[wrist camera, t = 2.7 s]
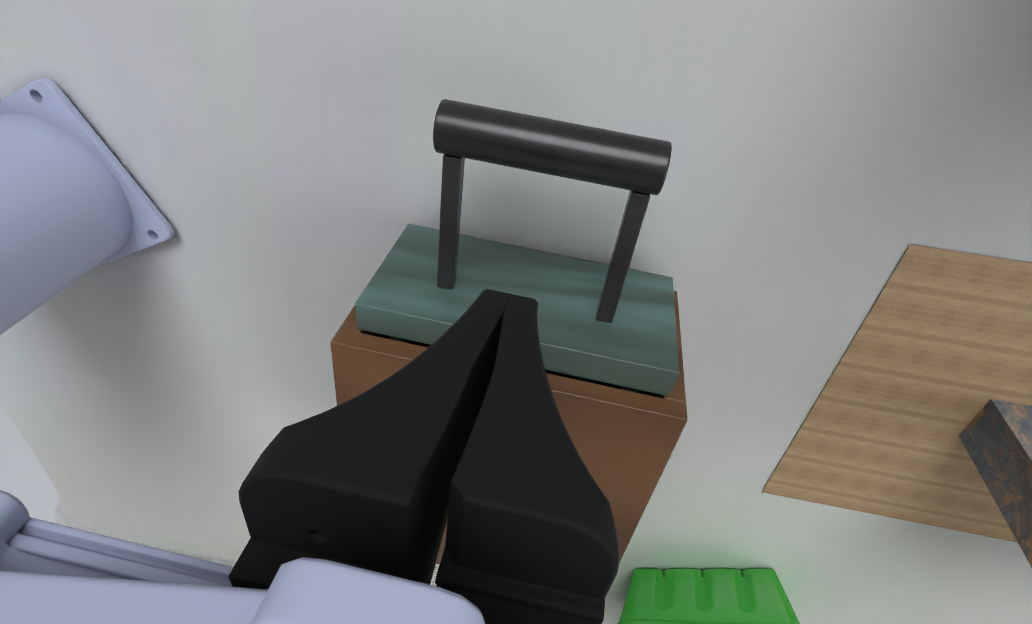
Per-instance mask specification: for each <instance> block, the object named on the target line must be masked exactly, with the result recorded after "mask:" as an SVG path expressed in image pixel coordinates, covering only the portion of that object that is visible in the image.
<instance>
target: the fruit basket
mask: <svg viewBox="0 0 1032 624" xmlns="http://www.w3.org/2000/svg"><path fill="white" fill-rule="evenodd" d="M617 624H800V623H799V621H798V619H797V617H796V615H795V613H794V610H793V608H792V606H791V604H790V602H789V600H788V598H787V596H786V594H785V591H784V589H783V587H782V585H781V583H780V581H779V579H778V577H777V574H776V572H775V571H774V570H773V569H770V568H751V569H744V570H743V571H741V570H739V569H733V568H726V569H704V570H703V571H701V570H699V569H691V568H675V569H666V570H665V571H663V570H661V569H646V568H641V569H635V570H634V573H633V576H632V580H631V583H630V586H629V590H628V593H627V597H626V600H625V604H624V607H623V611H622V614H621V618H620V621H619V622H618V623H617Z"/></svg>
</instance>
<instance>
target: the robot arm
mask: <svg viewBox="0 0 1032 624" xmlns="http://www.w3.org/2000/svg"><path fill="white" fill-rule="evenodd" d="M39 93H40V95H41V96H42V97H41V96H40V95H39ZM156 233H157V234H156ZM173 236H174V229H173V227H172V226H171V225H170V223H169V222H168V221H167V220H166V218H165V217H164V216H163V215H162V213H161V212H160V211H159V210H158V209H157V207H156V206H155V205H154V204H153V202H152V201H151V200H150V199H149V197H148V196H147V195H146V194H145V193H144V191H143V190H142V189H141V188H140V186H139V185H138V184H137V183H136V181H135V180H134V179H133V178H132V177H131V175H130V174H129V173H128V172H127V170H126V169H125V168H124V167H123V165H122V164H121V163H120V162H119V161H118V159H117V158H116V157H115V156H114V154H113V153H112V152H111V151H110V149H109V148H108V147H107V146H106V145H105V143H104V142H103V141H102V140H101V138H100V137H99V136H98V135H97V133H96V132H95V131H94V130H93V129H92V127H91V126H90V125H89V124H88V122H87V121H86V120H85V119H84V117H83V116H82V115H81V114H80V113H79V111H78V110H77V109H76V108H75V106H74V105H73V104H72V103H71V101H70V100H69V99H68V98H67V97H66V95H65V94H64V93H63V92H62V90H61V89H60V88H59V87H58V85H57V84H56V83H55V82H53V81H52V80H50V79H49V78H45V77H42V78H39V79H36V80H34V81H32V82H30V83H29V84H27V85H25V86H23V87H22V88H20V89H18V90H17V91H15V92H13V93H12V94H10V95H8V96H6V97H5V98H3V99H1V100H0V335H1V334H3V333H4V332H5V331H7V330H8V329H9V328H11V327H12V326H14V325H15V324H16V323H18V322H19V321H21V320H22V319H23V318H25V317H26V316H27V315H29V314H30V313H32V312H33V311H34V310H36V309H37V308H39V307H40V306H41V305H43V304H44V303H45V302H47V301H48V300H50V299H51V298H52V297H54V296H55V295H57V294H58V293H59V292H61V291H62V290H63V289H65V288H66V287H68V286H69V285H70V284H72V283H73V282H75V281H76V280H77V279H79V278H80V277H81V276H83V275H84V274H86V273H87V272H88V271H90V270H91V269H92V268H94V267H97V266H99V265H102V264H105V263H108V262H110V261H113V260H116V259H118V258H121V257H124V256H127V255H129V254H132V253H135V252H137V251H140V250H143V249H146V248H148V247H151V246H154V245H156V244H159V243H162V242H165V241H167V240H169V239H170V238H171V237H173ZM538 304H539V303H538V302H537V301H536V299H534V298H529V297H524V296H519V295H514V294H511V295H510V293H505V292H500V291H495V290H490V289H486V290H484V291H482V292H481V294H480V295H479V296H478V298H477V299H476V300H475V301H474V302H473V304H472V305H471V306H470V307H469V308H468V309H467V311H466V312H465V313H464V314H463V315H462V316H461V317H460V318H459V319H458V320H457V321H456V322H455V323H454V324H453V325H452V326H451V327H450V328H449V329H448V330H447V331H446V332H445V333H444V334H443V335H442V336H441V337H440V338H439V339H437V340H436V341H435V342H434V343H433V344H432V345H431V346H429V347H428V348H427V349H426V350H425V351H424V352H422V353H421V354H420V355H419V356H418V357H416V358H415V359H414V360H412V361H411V362H410V363H408V364H407V365H406V366H404V367H403V368H401V369H400V370H399V371H397V372H396V373H394V374H393V375H391V376H390V377H388V378H387V379H385V380H383V381H382V382H380V383H379V384H377V385H376V386H374V387H372V388H371V389H369V390H367V391H365V392H364V393H362V394H360V395H358V396H356V397H354V398H352V399H350V400H348V401H346V402H344V403H342V404H340V405H338V406H336V407H334V408H332V409H330V410H328V411H326V412H323V413H321V414H318V415H316V416H313V417H311V418H308V419H305V420H303V421H300V422H298V423H295V424H293V425H290V426H287V427H284V428H283V429H282V430H281V431H280V433H279V434H278V435H277V436H276V437H275V438H274V440H273V441H272V442H271V443H270V444H269V445H268V447H267V448H266V449H265V450H264V451H263V453H262V454H261V456H260V457H259V459H258V460H257V462H256V463H255V465H254V466H253V468H252V469H251V471H250V472H249V474H248V475H247V477H246V478H245V480H244V482H243V483H242V485H241V488H240V490H239V501H240V505H241V508H242V511H243V514H244V517H245V521H246V524H247V527H248V530H249V533H250V537H251V538H250V540H249V542H248V543H247V545H246V547H245V549H244V550H243V552H242V554H241V555H240V557H239V559H238V560H237V562H236V564H235V566H234V567H231V566H227V565H222V564H218V563H214V562H210V561H206V560H202V559H198V558H194V557H190V556H186V555H182V554H178V553H174V552H169V551H165V550H161V549H157V548H153V547H149V546H145V545H141V544H137V543H133V542H129V541H125V540H120V539H116V538H112V537H108V536H104V535H100V534H96V533H92V532H88V531H84V530H80V529H76V528H72V527H67V526H63V525H59V524H55V523H51V522H47V521H43V520H39V519H35V518H31V517H30V516H29V513H28V511H27V509H26V507H25V506H24V504H23V503H22V502H21V501H20V500H19V499H18V498H16V497H14V496H13V495H11V494H9V493H7V492H4V491H1V490H0V624H602V622H603V619H604V607H605V597H606V595H607V593H608V591H609V589H610V587H611V585H612V583H613V581H614V578H615V576H616V574H617V571H618V566H619V549H618V540H617V533H616V528H615V523H614V518H613V514H612V510H611V506H610V502H609V501H608V499H607V498H606V497H605V495H604V494H603V492H602V491H601V489H600V488H599V486H598V485H597V483H596V482H595V480H594V479H593V477H592V476H591V474H590V472H589V471H588V469H587V467H586V466H585V464H584V462H583V461H582V459H581V457H580V455H579V453H578V451H577V449H576V448H575V446H574V444H573V442H572V440H571V438H570V436H569V434H568V432H567V430H566V428H565V425H564V423H563V421H562V418H561V416H560V413H559V411H558V408H557V406H556V403H555V400H554V398H553V395H552V392H551V388H550V385H549V382H548V378H547V375H546V371H545V367H544V363H543V358H542V353H541V348H540V342H539V335H538V324H537V311H538ZM447 519H448V520H447ZM446 523H447V531H446V542H445V548H444V552H443V555H442V559H441V562H440V565H439V569H438V572H437V576H436V580H435V584H437V585H436V586H433V585H430V583H431V579H432V576H433V572H434V568H435V564H436V560H437V557H438V553H439V549H440V545H441V541H442V538H443V534H444V530H445V527H446Z"/></svg>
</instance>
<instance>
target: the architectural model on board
mask: <svg viewBox="0 0 1032 624" xmlns="http://www.w3.org/2000/svg"><path fill="white" fill-rule="evenodd" d="M762 492H764V493H769V494H775V495H780V496H785V497H790V498H795V499H800V500H805V501H810V502H815V503H820V504H825V505H831V506H836V507H841V508H846V509H851V510H856V511H861V512H866V513H871V514H876V515H881V516H886V517H892V518H897V519H902V520H907V521H912V522H917V523H922V524H927V525H932V526H937V527H942V528H947V529H953V530H958V531H963V532H968V533H973V534H978V535H983V536H988V537H993V538H998V539H1003V540H1009V541H1014V542H1018V544H1019V545H1020V547H1021V549H1022V551H1023V553H1024V554H1025V556H1026V558H1027V560H1028V562H1029V563H1030V565H1031V567H1032V263H1027V262H1021V261H1014V260H1008V259H1001V258H995V257H989V256H982V255H976V254H969V253H963V252H957V251H950V250H944V249H937V248H931V247H924V246H918V245H912V244H910V246H909V248H908V249H907V251H906V253H905V254H904V256H903V258H902V259H901V261H900V263H899V264H898V266H897V268H896V269H895V271H894V273H893V274H892V276H891V278H890V279H889V281H888V283H887V284H886V286H885V288H884V289H883V291H882V293H881V294H880V296H879V298H878V299H877V301H876V303H875V304H874V306H873V308H872V309H871V311H870V313H869V314H868V316H867V318H866V319H865V321H864V323H863V324H862V326H861V328H860V329H859V331H858V333H857V334H856V336H855V338H854V339H853V341H852V343H851V344H850V346H849V348H848V349H847V351H846V353H845V354H844V356H843V358H842V359H841V361H840V363H839V364H838V366H837V368H836V369H835V371H834V373H833V374H832V376H831V378H830V379H829V381H828V383H827V384H826V386H825V388H824V389H823V391H822V393H821V395H820V396H819V398H818V400H817V401H816V403H815V405H814V406H813V408H812V410H811V411H810V413H809V415H808V416H807V418H806V420H805V421H804V423H803V425H802V426H801V428H800V430H799V431H798V433H797V435H796V436H795V438H794V440H793V441H792V443H791V445H790V446H789V448H788V450H787V451H786V453H785V455H784V456H783V458H782V460H781V461H780V463H779V465H778V466H777V468H776V470H775V471H774V473H773V475H772V476H771V478H770V480H769V481H768V483H767V485H766V486H765V488H764V490H763V491H762Z"/></svg>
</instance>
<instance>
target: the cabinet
mask: <svg viewBox="0 0 1032 624" xmlns="http://www.w3.org/2000/svg"><path fill="white" fill-rule="evenodd" d="M674 305H675V319H676V333H677V347H678V362H679V375H678V377H677V379H676V382H675V384H674V386H673V389H672V391H671V393H670V396H665V395H661V394H656V393H651V392H647V391H642V390H640V393H636V392H631V391H627V390H622V389H617V388H613V387H608V386H603V385H599V384H594V383H590V382H585V381H580V380H576V379H571V378H566V377H562V376H557V375H553V374H548V373H546V375H547V378H548V382H549V385H550V388H551V392H552V395H553V398H554V400H555V403H556V406H557V408H558V411H559V413H560V416H561V418H562V421H563V423H564V425H565V428H566V430H567V432H568V434H569V436H570V438H571V440H572V442H573V444H574V446H575V448H576V449H577V451H578V453H579V455H580V457H581V459H582V461H583V462H584V464H585V466H586V467H587V469H588V471H589V472H590V474H591V476H592V477H593V479H594V480H595V482H596V483H597V485H598V486H599V488H600V489H601V491H602V492H603V494H604V495H605V497H606V498H607V499H608V501H609V502H610V506H611V510H612V514H613V518H614V523H615V528H616V533H617V540H618V549H619V562H620V560H621V558H622V556H623V554H624V552H625V550H626V548H627V545H628V543H629V541H630V539H631V537H632V535H633V533H634V531H635V529H636V527H637V525H638V522H639V520H640V518H641V516H642V514H643V512H644V510H645V508H646V506H647V504H648V502H649V499H650V497H651V495H652V493H653V491H654V489H655V487H656V485H657V483H658V481H659V478H660V476H661V474H662V472H663V470H664V468H665V466H666V464H667V462H668V460H669V458H670V455H671V453H672V451H673V449H674V447H675V445H676V443H677V441H678V439H679V437H680V435H681V432H682V430H683V428H684V426H685V424H686V422H687V408H686V397H685V385H684V372H683V359H682V347H681V334H680V322H679V309H678V299H677V292H676V291H674ZM388 338H389V336H388V335H383V334H378V333H374V332H369V331H364V330H360V329H357V322H356V307H355V306H354V307H353V309H352V310H351V312H350V313H349V315H348V316H347V318H346V319H345V321H344V322H343V324H342V325H341V327H340V329H339V330H338V332H337V333H336V335H335V336H334V338H333V339H332V341H331V352H332V361H333V370H334V380H335V389H336V399H337V406H338V405H340V404H342V403H344V402H346V401H348V400H350V399H352V398H354V397H356V396H358V395H360V394H362V393H364V392H365V391H367V390H369V389H371V388H372V387H374V386H376V385H377V384H379V383H380V382H382V381H383V380H385V379H387V378H388V377H390V376H391V375H393V374H394V373H396V372H397V371H399V370H400V369H401V368H403V367H404V366H406V365H407V364H408V363H410V362H411V361H412V360H414V359H415V358H416V357H418V356H419V355H420V354H421V353H422V352H424V351H425V350H426V349H427V348H428V347H423V346H419V345H414V344H409V343H405V342H400V341H396V340H391V339H388ZM447 520H448V519H447ZM446 531H447V523H446V527H445V530H444V534H443V538H442V541H441V545H440V549H439V553H438V557H437V560H436V563H437V564H440V562H441V559H442V555H443V552H444V548H445V542H446Z"/></svg>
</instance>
